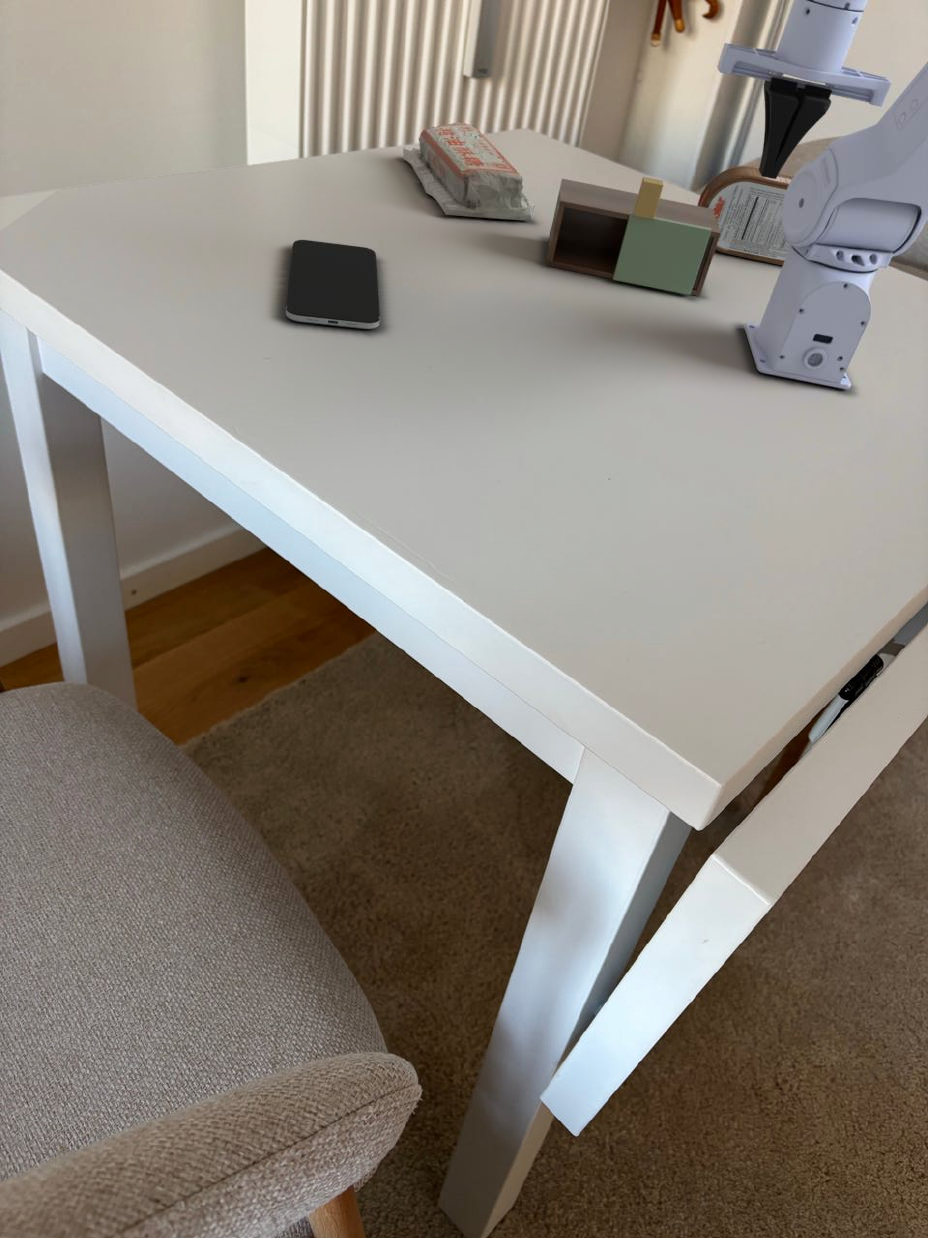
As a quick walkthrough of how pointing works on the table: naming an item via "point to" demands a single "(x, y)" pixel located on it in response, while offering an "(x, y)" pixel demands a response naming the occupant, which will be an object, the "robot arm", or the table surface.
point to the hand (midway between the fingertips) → (767, 174)
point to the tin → (748, 213)
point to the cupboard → (611, 228)
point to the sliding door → (659, 246)
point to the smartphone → (333, 285)
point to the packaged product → (468, 174)
